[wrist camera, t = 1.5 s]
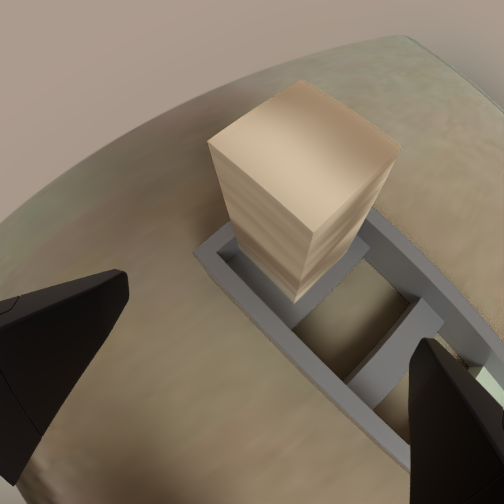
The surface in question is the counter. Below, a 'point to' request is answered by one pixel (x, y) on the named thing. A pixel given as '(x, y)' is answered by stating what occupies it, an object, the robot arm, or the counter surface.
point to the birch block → (299, 182)
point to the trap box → (393, 342)
